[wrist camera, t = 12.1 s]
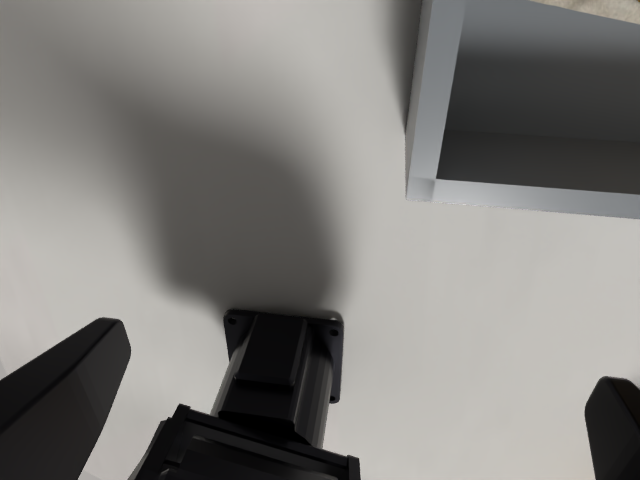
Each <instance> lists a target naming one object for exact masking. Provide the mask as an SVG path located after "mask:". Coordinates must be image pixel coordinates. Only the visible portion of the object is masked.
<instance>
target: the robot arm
mask: <svg viewBox="0 0 640 480" xmlns="http://www.w3.org/2000/svg"><path fill="white" fill-rule="evenodd" d="M232 318H234V319H232ZM223 321H224V328H225V335H226V342H227V349H228V355H229V362H230V363H229V366H228V368H227V371H226V373H225V376H224V379H223V381H222V384H221V387H220V389H219V392H218V394H217V397H216V400H215V402H214V405H213V408H212V410H211V413H210V415H209V414H206V413H202V412H199V411H196V410H193V409H190V408H191V407H190V406H187V405H183V404H180V403H179V405H178V407H177V409H176V411H175V413H174V414H173V416H172V418H170V417H168V418H167V420H164V421H161V422H160V424H159V426H158V428H157V430H156V432H155V434H154V437H153V439H152V441H151V443H150V445H149V447H148V449H147V451H146V453H145V454H144V456H143V458H142V459H141V461H140V462H139V464H138V465H137V466H136V468H135V469H134V471H133V472H132V474H131V475H130V477H129V478H128V480H361V479H360V463H359V458H357V457H353V456H350V455H347V457H346V456H343V455H340V454H337V453H333V452H330V451H327V450H324V449H322V447H323V440H324V433H325V427H326V420H327V413H328V407H329V403H331V404H334V403H337V402H339V400H340V391H341V375H342V358H343V341H344V326H343V324H342V323H340V322H338V321H334V320H325V319H316V318H307V317H298V316H289V315H280V314H271V313H262V312H253V311H244V310H235V309H230V310H228V311H227V312H226V314H225V316H224V319H223ZM333 329H334V330H337V331H333ZM130 356H131V346H130V343H129V340H128V337H127V334H126V330H125V327H124V324H123V322H122V321H121V320H119V319H113V318H105V317H102V318H98V319H96V320H95V321H93V322H91V323H90V324H88V325H87V326H85V327H83V328H82V329H80V330H79V331H77V332H76V333H74V334H72V335H71V336H69V337H68V338H66V339H65V340H63V341H61V342H60V343H58V344H57V345H55V346H54V347H52V348H50V349H49V350H47V351H46V352H44V353H42V354H41V355H39V356H38V357H36V358H35V359H33V360H31V361H30V362H28V363H27V364H25V365H24V366H22V367H20V368H19V369H17V370H16V371H14V372H13V373H11V374H9V375H8V376H6V377H5V378H3V379H1V380H0V480H78V478H79V476H80V474H81V472H82V470H83V468H84V466H85V464H86V462H87V460H88V458H89V456H90V454H91V452H92V450H93V448H94V446H95V444H96V442H97V440H98V438H99V436H100V434H101V432H102V429H103V427H104V425H105V422H106V420H107V417H108V415H109V412H110V410H111V407H112V404H113V402H114V399H115V396H116V394H117V391H118V389H119V386H120V383H121V381H122V378H123V375H124V373H125V370H126V368H127V365H128V362H129V360H130ZM585 421H586V427H587V432H588V438H589V444H590V450H591V456H592V461H593V467H594V473H595V479H596V480H640V389H639V388H638V387H637V386H635V385H634V384H633V383H632V382H631V381H629V380H627V379H624V378H617V377H608V376H604V377H602V378H600V379H599V381H598V382H597V384H596V386H595V388H594V390H593V392H592V394H591V395H590V397H589V399H588V401H587V403H586V406H585Z"/></svg>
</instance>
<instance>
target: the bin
mask: <svg viewBox="0 0 640 480" xmlns="http://www.w3.org/2000/svg"><path fill="white" fill-rule="evenodd" d="M405 170H406V200H413V201H425V202H437V203H449V204H461V205H473V206H485V207H497V208H510V209H522V210H534V211H546V212H558V213H570V214H582V215H594V216H606V217H619V218H631V219H640V24H636V23H631V22H626V21H622V20H617V19H612V18H607V17H603V16H598V15H593V14H589V13H584V12H579V11H574V10H570V9H566V8H562V7H558V6H553V5H547V4H542V3H538V2H534V1H530V0H422V5H421V13H420V21H419V30H418V38H417V46H416V54H415V62H414V70H413V78H412V86H411V94H410V102H409V110H408V118H407V126H406V135H405Z"/></svg>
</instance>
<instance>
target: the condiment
mask: <svg viewBox="0 0 640 480" xmlns="http://www.w3.org/2000/svg"><path fill="white" fill-rule="evenodd" d="M530 1H534V2H538V3H542V4H547V5H553V6H558V7H562V8H566V9H570V10H574V11H579V12H584V13H589V14H593V15H598V16H603V17H607V18H612V19H617V20H622V21H626V22H631V23H636V24H640V0H530Z"/></svg>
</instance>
